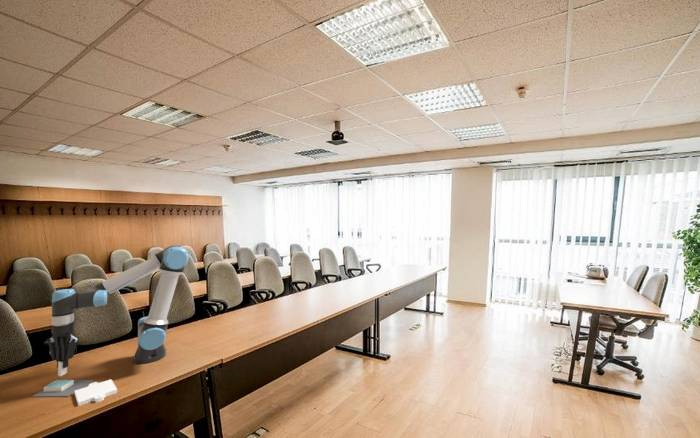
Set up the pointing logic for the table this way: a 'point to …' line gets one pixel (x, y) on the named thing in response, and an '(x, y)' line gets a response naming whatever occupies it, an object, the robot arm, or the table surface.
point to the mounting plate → (95, 392)
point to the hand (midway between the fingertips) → (62, 374)
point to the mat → (67, 392)
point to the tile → (58, 385)
